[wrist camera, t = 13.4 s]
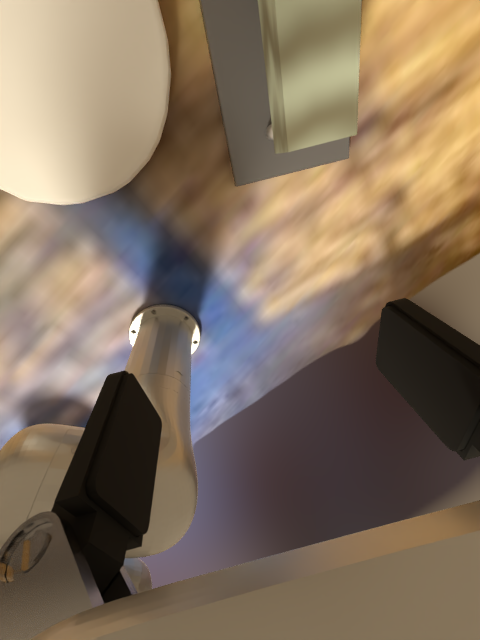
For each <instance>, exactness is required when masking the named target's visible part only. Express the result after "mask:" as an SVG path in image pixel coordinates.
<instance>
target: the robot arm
mask: <svg viewBox="0 0 480 640" xmlns="http://www.w3.org/2000/svg"><path fill="white" fill-rule="evenodd" d="M154 310H155V311H154ZM185 316H187V317H185ZM129 339H130V342H131V344H132V346H133V348H132V351H131V354H130V357H129V359H128V362H127V365H126V368H125V371H121V372H117V373H114V374H110V375H108V376H107V378H106V380H105V382H104V385H103V387H102V389H101V392H100V394H99V397H98V399H97V401H96V404H95V406H94V408H93V411H92V413H91V416H90V418H89V420H88V423H87V425H86V427H85V428H83V427H76V426H69V425H62V424H37V425H33V426H30V427H27V428H25V429H23V430H21V431H19V432H18V433H17V434H15V435H14V436H13V437H12V438H11V439H10V440H9V441H8V442H7V443H6V444H5V445H4V446H3V448H2V449H1V450H0V640H480V500H479V501H475V502H472V503H467V504H464V505H460V506H456V507H452V508H448V509H445V510H441V511H437V512H433V513H429V514H426V515H422V516H418V517H414V518H411V519H407V520H403V521H399V522H395V523H392V524H388V525H384V526H380V527H377V528H373V529H369V530H365V531H362V532H358V533H355V534H351V535H347V536H343V537H339V538H336V539H332V540H329V541H325V542H321V543H317V544H314V545H310V546H306V547H303V548H299V549H295V550H291V551H287V552H284V553H280V554H276V555H273V556H269V557H265V558H262V559H258V560H254V561H251V562H247V563H244V564H240V565H236V566H233V567H229V568H225V569H222V570H218V571H214V572H211V573H208V574H203V575H200V576H196V577H193V578H189V579H185V580H182V581H178V582H175V583H171V584H168V585H165V586H161V587H158V588H155V589H152V582H151V576H150V572H149V569H148V567H147V566H146V564H145V563H144V562H143V561H141V560H140V559H139V558H138V557H146V556H150V555H154V554H158V553H160V552H163V551H165V550H167V549H169V548H170V547H172V546H173V545H175V544H176V543H177V542H178V541H179V540H180V539H181V538H182V537H183V536H184V535H185V533H186V531H187V530H188V528H189V526H190V524H191V522H192V519H193V516H194V514H195V509H196V505H197V496H198V480H197V471H196V464H195V459H194V454H193V448H192V442H191V433H190V384H191V354H193V353H194V351H195V350H196V349H197V347H198V345H199V342H200V328H199V325H198V323H197V321H196V320H195V318H194V317H193V316H192V315H191V314H190V313H188V312H187V311H186V310H184V309H182V308H180V307H176V306H173V305H166V304H163V305H154V306H150V307H148V308H145V309H144V310H142V311H141V312H139V313H138V314H137V315H136V316H135V317H134V319H133V321H132V323H131V325H130V328H129ZM376 365H377V367H378V369H379V370H380V372H381V373H382V374H383V375H384V376H385V377H386V378H387V380H388V381H389V382H390V383H391V384H392V385H393V386H394V388H395V389H396V390H397V391H398V392H399V393H400V394H401V395H402V397H403V398H404V399H405V400H406V401H407V402H408V403H409V405H411V407H412V408H413V409H414V410H415V411H416V413H417V414H418V415H419V416H420V417H421V418H422V419H423V420H424V422H425V423H426V424H427V425H428V426H429V427H430V428H431V430H432V431H433V432H434V433H435V434H436V435H437V436H438V437H439V439H440V440H441V441H442V442H443V443H444V444H445V445H446V446H447V447H448V448H449V449H450V450H452V451H456V452H457V453H458V454H459V455H460V457H461V458H462V459H463V460H467V459H471V458H475V457H478V456H480V345H478V344H477V343H475V342H474V341H472V340H471V339H469V338H467V337H466V336H464V335H463V334H461V333H460V332H458V331H456V330H455V329H453V328H452V327H450V326H449V325H447V324H446V323H444V322H443V321H441V320H439V319H438V318H436V317H435V316H433V315H431V314H430V313H428V312H427V311H425V310H424V309H422V308H421V307H419V306H418V305H416V304H415V303H413V302H411V301H410V300H408V299H406V298H403V299H399V300H395V301H391V302H388V303H387V304H386V306H385V307H384V308H383V309H382V313H381V322H380V330H379V338H378V347H377V355H376Z"/></svg>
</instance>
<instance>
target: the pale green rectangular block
mask: <svg viewBox="0 0 480 640" xmlns="http://www.w3.org/2000/svg"><path fill="white" fill-rule="evenodd" d="M361 6H362V0H258V8H259V17H260V25H261V34H262V43H263V52H264V61H265V69H266V78H267V87H268V96H269V105H270V114H271V122H272V131H273V140H274V149H275V154H278V153H286V152H291V151H295V150H299V149H303V148H307V147H311V146H315V145H319V144H323V143H326V142H330V141H334V140H338V139H342V138H346V137H350V136H354V135H357V119H358V91H359V62H360V34H361Z"/></svg>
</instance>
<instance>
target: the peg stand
mask: <svg viewBox="0 0 480 640" xmlns="http://www.w3.org/2000/svg"><path fill="white" fill-rule="evenodd" d="M199 2H200V7H201V12H202V17H203V22H204V27H205V32H206V38H207V43H208V48H209V53H210V58H211V63H212V68H213V74H214V79H215V84H216V89H217V94H218V99H219V104H220V109H221V115H222V120H223V125H224V130H225V135H226V140H227V145H228V151H229V156H230V161H231V166H232V171H233V176H234V181H235V186H241V185H245V184H249V183H253V182H257V181H261V180H265V179H269V178H273V177H277V176H281V175H285V174H289V173H293V172H297V171H301V170H305V169H309V168H312V167H316V166H320V165H324V164H328V163H332V162H336V161H340V160H344V159H348V158H349V137H346V138H342V139H338V140H334V141H330V142H326V143H323V144H319V145H315V146H311V147H307V148H303V149H299V150H295V151H291V152H286V153H278V154H275V149H274V140H273V131H272V122H271V114H270V105H269V96H268V87H267V78H266V69H265V61H264V52H263V43H262V34H261V25H260V17H259V8H258V0H199Z"/></svg>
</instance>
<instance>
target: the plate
mask: <svg viewBox="0 0 480 640" xmlns="http://www.w3.org/2000/svg"><path fill="white" fill-rule="evenodd" d="M170 81H171V68H170V56H169V45H168V38H167V34H166V30H165V26H164V22H163V18H162V14H161V10H160V7H159V3H158V0H0V189H1V190H4V191H6V192H8V193H10V194H12V195H14V196H16V197H19V198H21V199H23V200H26V201H31V202H40V203H49V204H58V205H69V204H79V203H84V202H87V201H90V200H93V199H96V198H99V197H102V196H105V195H108V194H111V193H114V192H116V191H117V190H119V189H120V188H122V187H123V186H125V185H126V184H128V183H129V182H131V180H132V179H133V178H134V177H135V176H136V175H137V174H138V173H139V171H140V170H141V169H142V168H143V167H144V166H145V165H146V164H147V162H148V161H149V160H150V158H151V156H152V155H153V153H154V151H155V149H156V147H157V145H158V143H159V141H160V138H161V135H162V131H163V128H164V124H165V121H166V117H167V114H168V103H169V92H170Z"/></svg>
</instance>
